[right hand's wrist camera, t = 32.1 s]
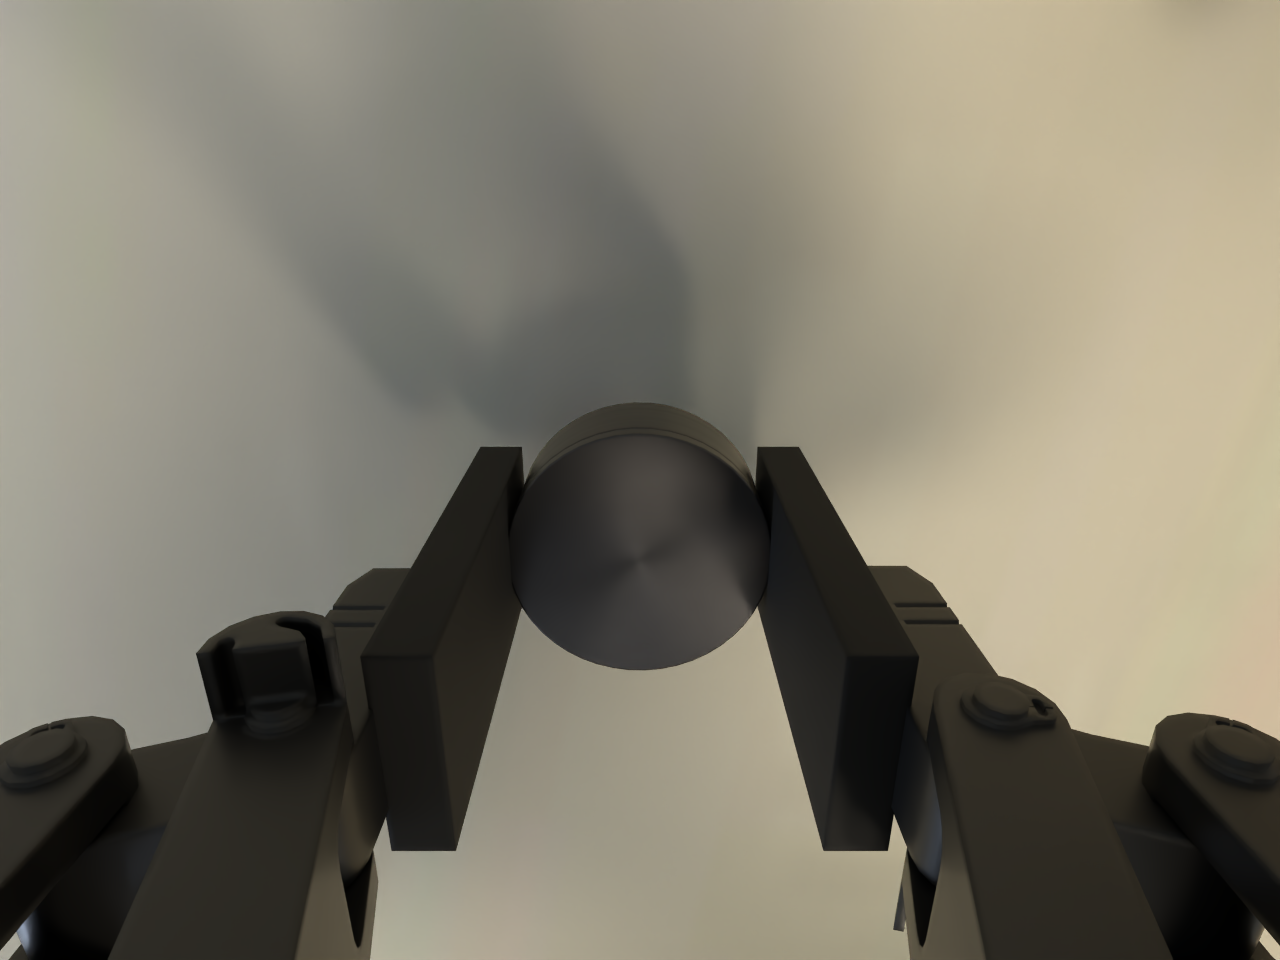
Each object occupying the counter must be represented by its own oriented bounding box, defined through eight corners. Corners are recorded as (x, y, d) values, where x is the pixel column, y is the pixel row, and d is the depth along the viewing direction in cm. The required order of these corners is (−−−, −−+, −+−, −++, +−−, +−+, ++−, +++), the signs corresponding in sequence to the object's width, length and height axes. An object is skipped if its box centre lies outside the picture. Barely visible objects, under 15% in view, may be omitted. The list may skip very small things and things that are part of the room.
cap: (722, 369, 13) (733, 398, 12) (782, 582, 15) (799, 633, 13) (486, 442, 14) (464, 480, 12) (568, 640, 15) (559, 697, 14)
